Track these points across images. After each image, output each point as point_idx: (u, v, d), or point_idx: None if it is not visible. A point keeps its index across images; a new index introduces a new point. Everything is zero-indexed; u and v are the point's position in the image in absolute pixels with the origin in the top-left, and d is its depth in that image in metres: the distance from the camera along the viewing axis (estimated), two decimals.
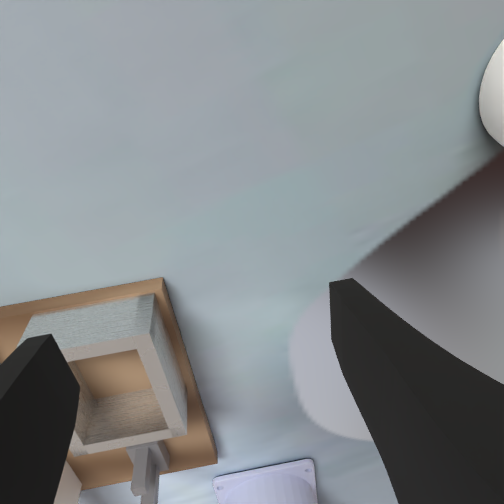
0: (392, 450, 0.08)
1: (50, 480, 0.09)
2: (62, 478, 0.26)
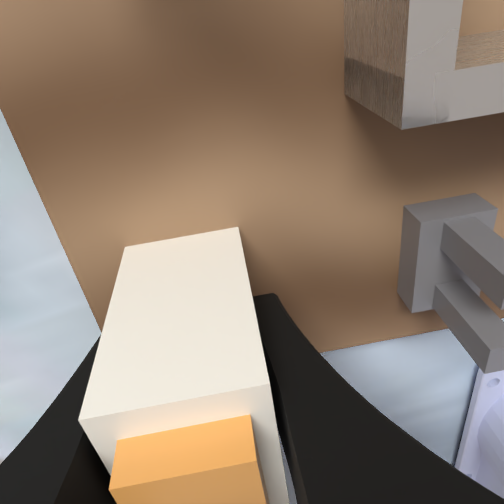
0: (292, 470, 0.08)
1: None
2: None
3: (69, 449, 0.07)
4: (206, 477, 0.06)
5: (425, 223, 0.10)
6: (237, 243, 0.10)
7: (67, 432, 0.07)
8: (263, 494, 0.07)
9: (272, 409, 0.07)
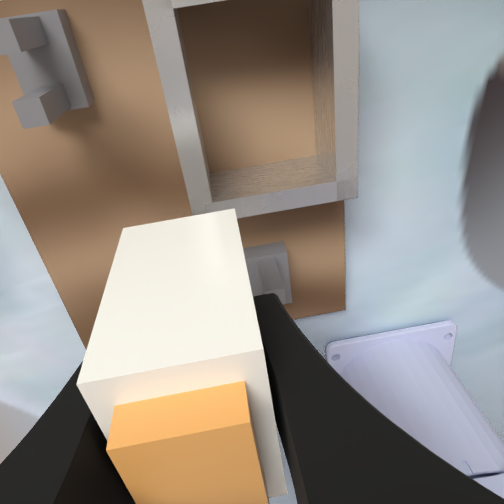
0: (292, 470, 0.08)
1: None
2: None
3: (68, 450, 0.07)
4: (201, 439, 0.06)
5: (247, 259, 0.19)
6: (233, 223, 0.10)
7: (67, 432, 0.07)
8: (257, 458, 0.07)
9: (266, 375, 0.07)
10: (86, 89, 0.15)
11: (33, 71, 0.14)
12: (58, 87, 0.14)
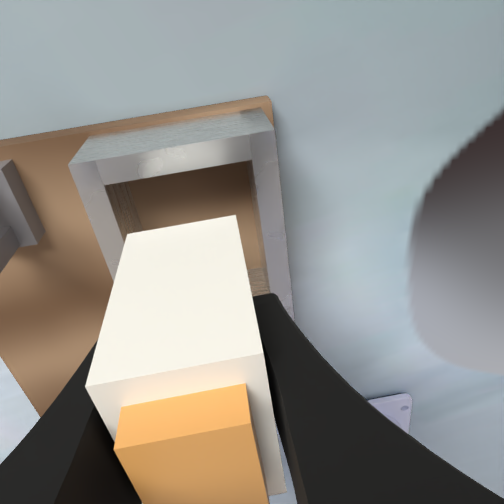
0: (292, 470, 0.08)
1: None
2: None
3: (69, 449, 0.07)
4: (204, 438, 0.07)
5: None
6: (234, 230, 0.11)
7: (67, 432, 0.07)
8: (257, 457, 0.07)
9: (266, 378, 0.07)
10: (35, 227, 0.15)
11: None
12: (5, 235, 0.14)
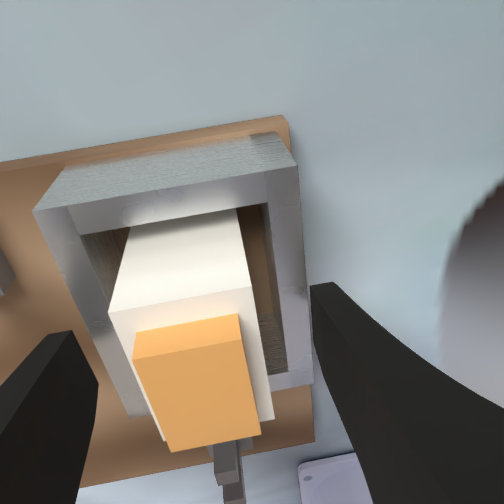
0: (367, 455, 0.08)
1: (73, 475, 0.09)
2: None
3: None
4: (204, 352, 0.08)
5: None
6: None
7: None
8: (247, 372, 0.09)
9: (254, 309, 0.09)
10: (1, 274, 0.13)
11: None
12: None
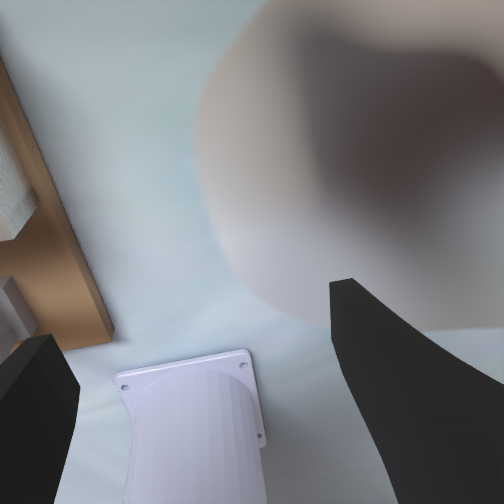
0: (392, 450, 0.08)
1: (51, 479, 0.09)
2: None
3: None
4: None
5: None
6: None
7: None
8: None
9: None
10: None
11: None
12: None
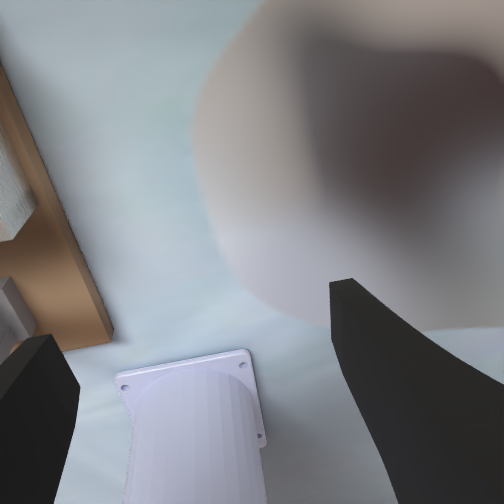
0: (392, 450, 0.08)
1: (50, 480, 0.09)
2: None
3: None
4: None
5: None
6: None
7: None
8: None
9: None
10: None
11: None
12: None
